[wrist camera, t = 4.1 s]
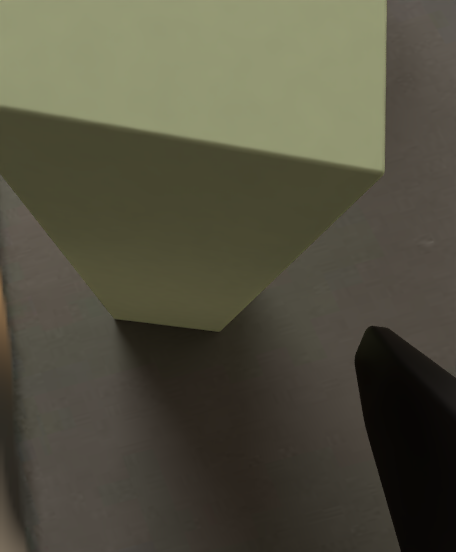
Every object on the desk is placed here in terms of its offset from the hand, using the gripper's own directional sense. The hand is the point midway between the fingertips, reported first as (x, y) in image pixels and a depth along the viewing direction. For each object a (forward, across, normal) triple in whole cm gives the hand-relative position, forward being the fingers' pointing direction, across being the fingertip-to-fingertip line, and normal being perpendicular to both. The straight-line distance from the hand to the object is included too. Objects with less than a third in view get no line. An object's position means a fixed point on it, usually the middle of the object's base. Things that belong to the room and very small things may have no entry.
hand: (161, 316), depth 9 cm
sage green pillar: (+11, 0, +5) cm, 12 cm away
